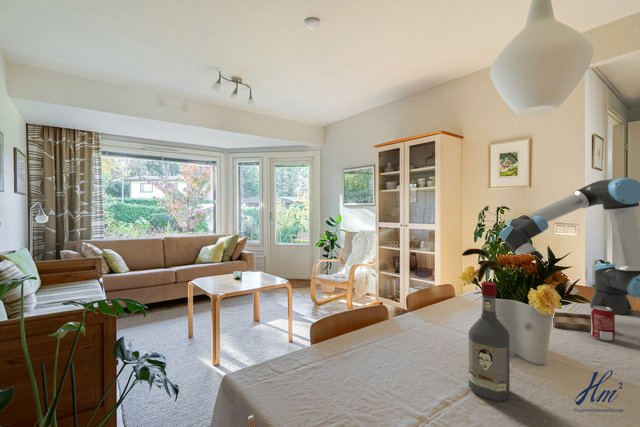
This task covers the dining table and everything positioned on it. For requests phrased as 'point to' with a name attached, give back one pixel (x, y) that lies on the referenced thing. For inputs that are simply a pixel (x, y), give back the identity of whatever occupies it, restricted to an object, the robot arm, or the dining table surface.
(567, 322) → the walnut tray
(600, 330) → the soda can
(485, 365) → the liquor
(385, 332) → the dining table surface
